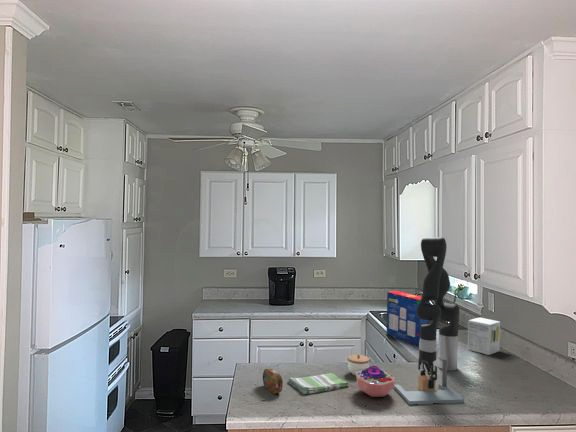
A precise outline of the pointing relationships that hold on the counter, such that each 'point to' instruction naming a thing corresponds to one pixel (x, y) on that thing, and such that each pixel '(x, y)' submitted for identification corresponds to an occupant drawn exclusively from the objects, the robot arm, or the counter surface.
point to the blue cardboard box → (404, 317)
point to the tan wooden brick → (425, 383)
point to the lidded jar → (357, 362)
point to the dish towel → (318, 383)
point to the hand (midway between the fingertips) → (426, 384)
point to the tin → (272, 381)
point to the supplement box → (484, 335)
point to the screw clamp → (431, 392)
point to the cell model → (375, 381)
